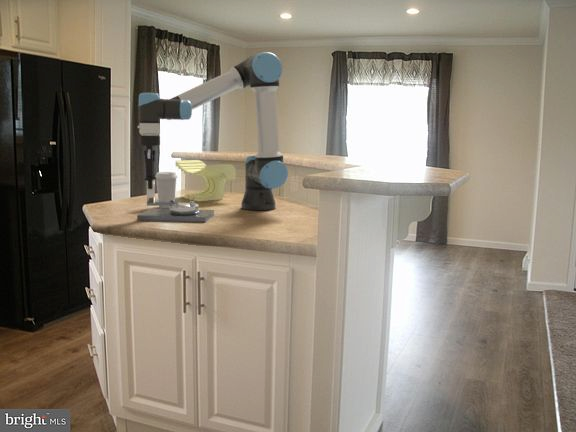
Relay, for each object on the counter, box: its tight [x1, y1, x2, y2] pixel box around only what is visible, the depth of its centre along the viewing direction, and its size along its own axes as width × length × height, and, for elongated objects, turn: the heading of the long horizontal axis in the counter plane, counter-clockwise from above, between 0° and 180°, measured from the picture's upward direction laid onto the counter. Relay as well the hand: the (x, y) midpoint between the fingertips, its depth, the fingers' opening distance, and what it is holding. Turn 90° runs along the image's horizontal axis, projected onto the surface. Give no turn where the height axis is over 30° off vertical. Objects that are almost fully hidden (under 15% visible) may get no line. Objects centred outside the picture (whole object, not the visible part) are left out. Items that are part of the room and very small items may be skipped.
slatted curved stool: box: [175, 159, 237, 202], centre depth 267 cm, size 30×16×18 cm, turn 39°
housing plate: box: [136, 208, 215, 223], centre depth 214 cm, size 26×17×2 cm, turn 87°
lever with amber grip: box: [146, 180, 200, 215], centre depth 211 cm, size 20×11×12 cm, turn 102°
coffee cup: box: [155, 171, 178, 209], centre depth 238 cm, size 10×10×15 cm
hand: (150, 196), depth 209 cm, fingers closed on lever with amber grip, 3 cm apart
